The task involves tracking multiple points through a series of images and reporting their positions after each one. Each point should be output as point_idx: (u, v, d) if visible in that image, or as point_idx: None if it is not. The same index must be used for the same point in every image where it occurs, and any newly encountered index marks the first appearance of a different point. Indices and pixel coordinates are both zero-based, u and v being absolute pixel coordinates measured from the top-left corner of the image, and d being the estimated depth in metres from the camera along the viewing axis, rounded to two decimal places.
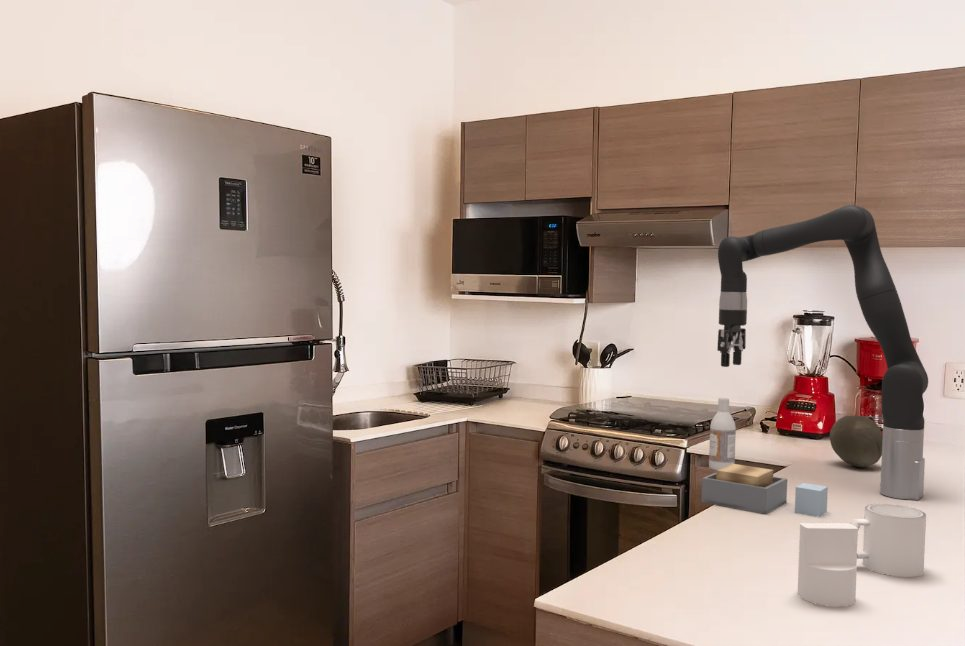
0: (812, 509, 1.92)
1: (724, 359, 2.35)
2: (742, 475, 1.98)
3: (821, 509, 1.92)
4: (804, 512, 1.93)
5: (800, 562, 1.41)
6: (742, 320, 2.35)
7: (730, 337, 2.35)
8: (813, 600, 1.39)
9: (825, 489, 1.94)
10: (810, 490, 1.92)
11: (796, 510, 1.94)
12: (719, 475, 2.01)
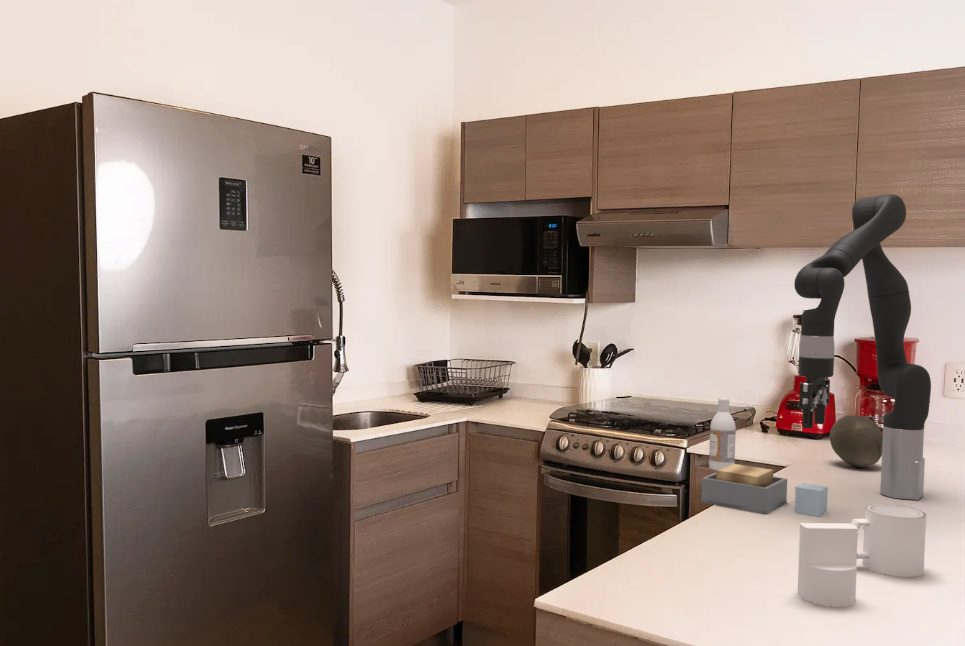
0: (812, 509, 1.92)
1: (807, 419, 1.90)
2: (742, 475, 1.98)
3: (821, 509, 1.92)
4: (804, 512, 1.93)
5: (800, 562, 1.41)
6: (829, 371, 1.90)
7: (813, 392, 1.91)
8: (813, 599, 1.39)
9: (825, 489, 1.94)
10: (810, 490, 1.92)
11: (796, 510, 1.94)
12: (719, 475, 2.01)
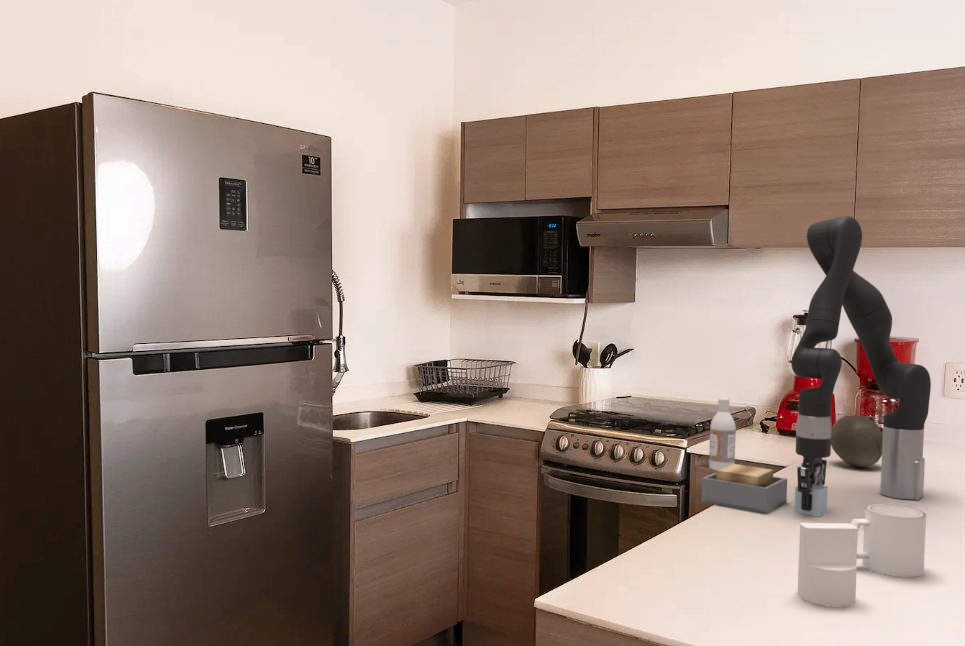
0: (812, 508, 1.92)
1: (806, 502, 1.92)
2: (742, 475, 1.98)
3: (821, 509, 1.92)
4: (804, 512, 1.93)
5: (800, 562, 1.41)
6: (826, 451, 1.91)
7: (811, 472, 1.91)
8: (813, 599, 1.39)
9: (825, 489, 1.94)
10: None
11: (796, 510, 1.94)
12: (719, 475, 2.01)
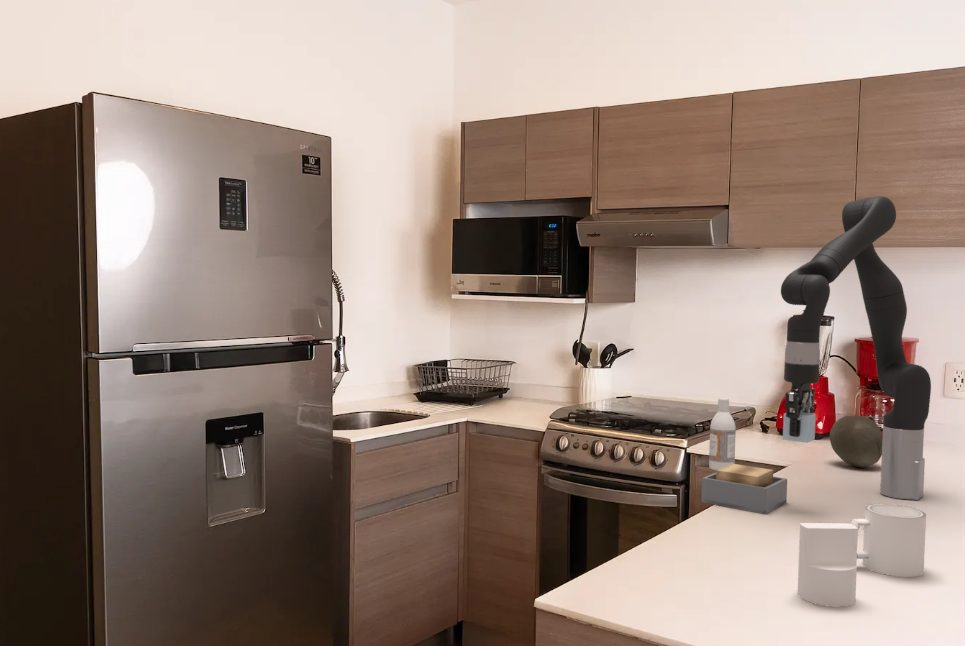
0: (800, 434, 1.92)
1: (794, 427, 1.92)
2: (742, 475, 1.98)
3: (809, 435, 1.93)
4: (792, 438, 1.94)
5: (800, 562, 1.41)
6: (814, 377, 1.92)
7: (799, 398, 1.92)
8: (813, 599, 1.39)
9: (813, 416, 1.94)
10: None
11: (784, 437, 1.95)
12: (719, 475, 2.01)
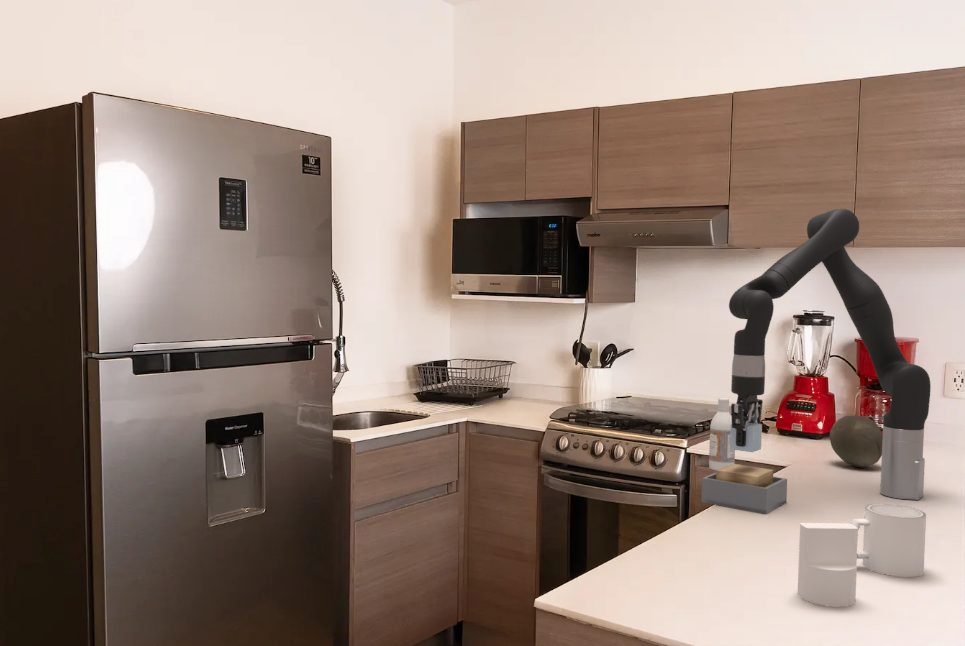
0: (746, 444, 1.99)
1: (740, 438, 1.99)
2: (742, 475, 1.98)
3: (755, 445, 1.99)
4: (738, 448, 2.00)
5: (800, 562, 1.41)
6: (759, 389, 1.98)
7: (744, 409, 1.99)
8: (813, 599, 1.39)
9: (759, 426, 2.01)
10: None
11: (731, 446, 2.01)
12: (719, 475, 2.01)
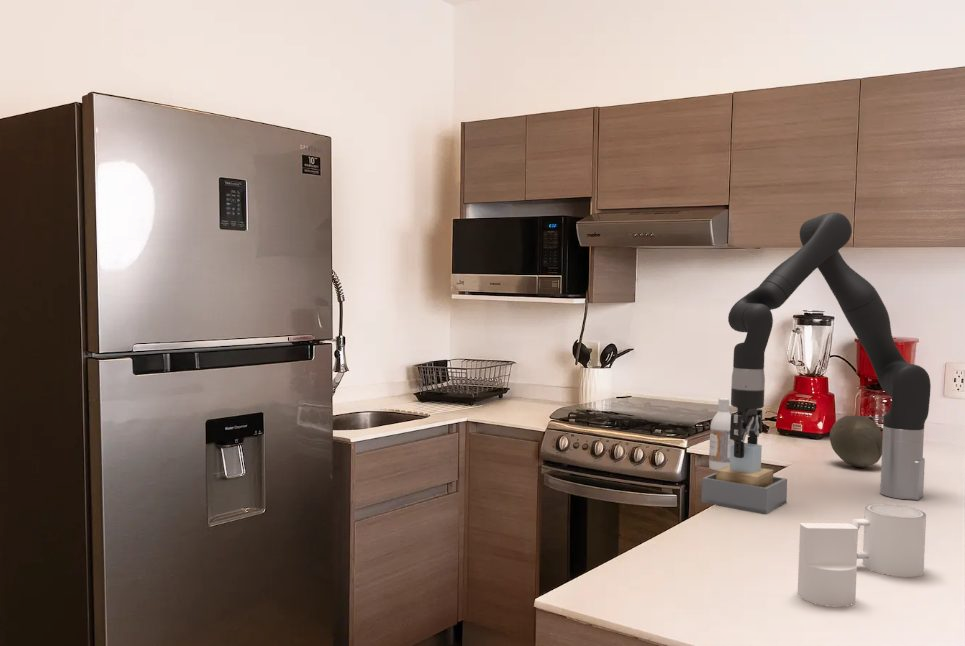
0: (746, 466, 1.99)
1: (738, 449, 1.98)
2: (742, 475, 1.98)
3: (754, 466, 2.00)
4: (738, 469, 2.01)
5: (800, 562, 1.41)
6: (759, 402, 1.98)
7: (744, 423, 1.99)
8: (813, 600, 1.39)
9: (759, 447, 2.01)
10: (744, 448, 2.00)
11: (731, 467, 2.02)
12: (719, 475, 2.01)
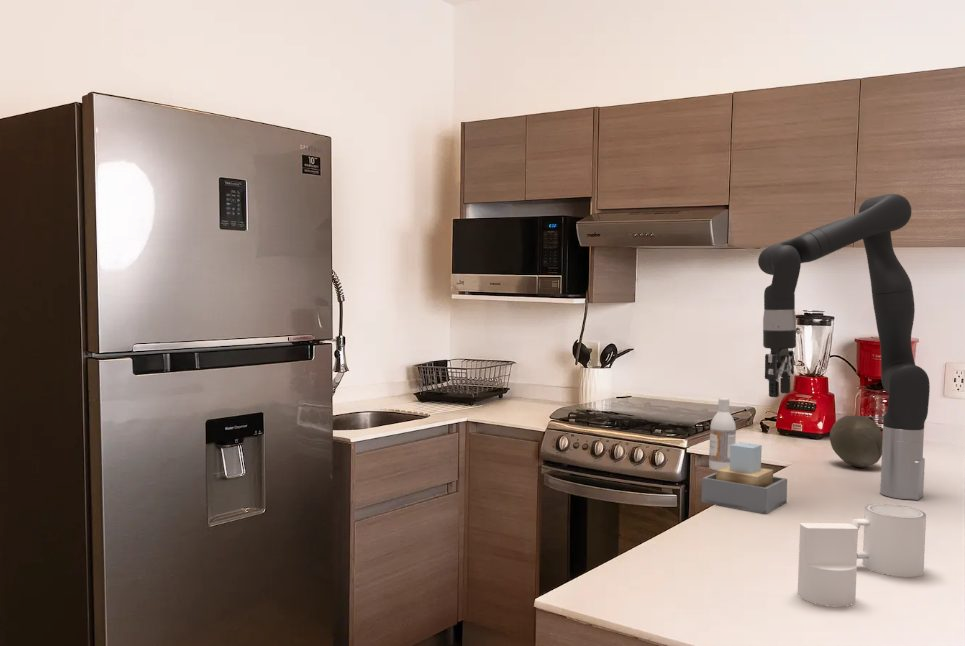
0: (746, 466, 1.99)
1: (773, 388, 2.01)
2: (742, 475, 1.98)
3: (754, 466, 2.00)
4: (738, 469, 2.01)
5: (800, 562, 1.41)
6: (792, 342, 2.02)
7: (778, 363, 2.02)
8: (813, 600, 1.39)
9: (759, 447, 2.01)
10: (744, 448, 2.00)
11: (731, 467, 2.02)
12: (719, 475, 2.01)
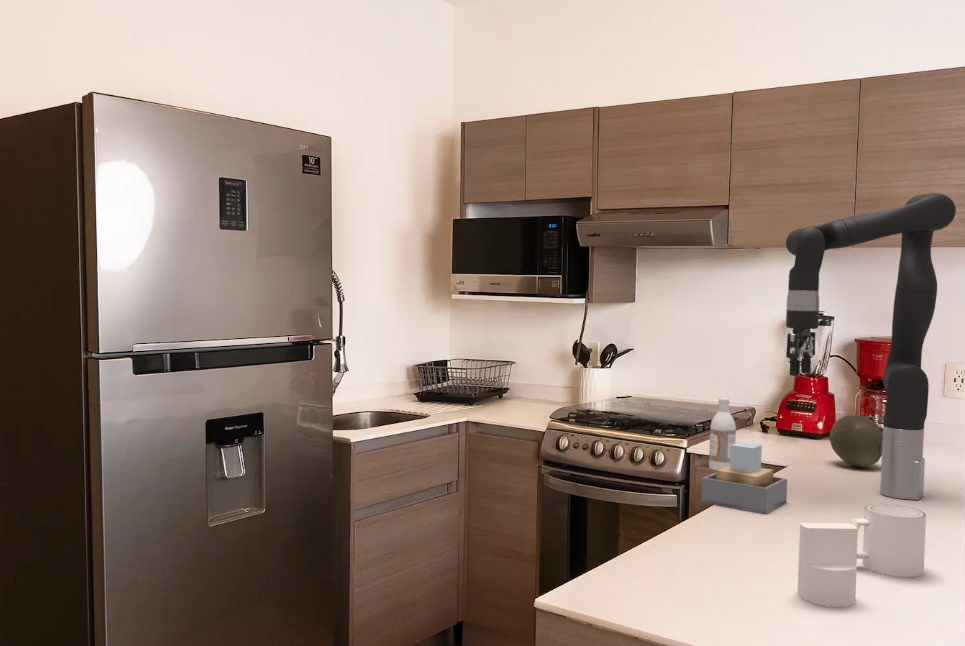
0: (746, 466, 1.99)
1: (794, 367, 2.05)
2: (742, 475, 1.98)
3: (754, 466, 2.00)
4: (738, 469, 2.01)
5: (800, 562, 1.41)
6: (814, 322, 2.06)
7: (800, 342, 2.06)
8: (813, 600, 1.39)
9: (759, 447, 2.01)
10: (744, 448, 2.00)
11: (731, 467, 2.02)
12: (719, 475, 2.01)
